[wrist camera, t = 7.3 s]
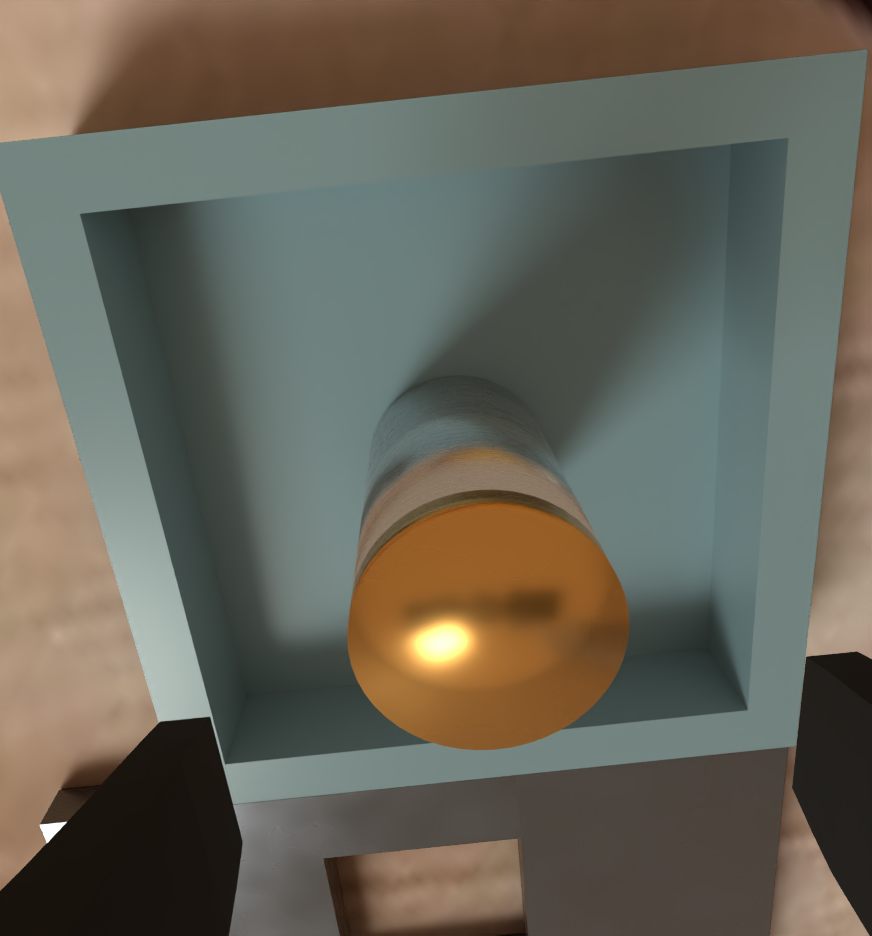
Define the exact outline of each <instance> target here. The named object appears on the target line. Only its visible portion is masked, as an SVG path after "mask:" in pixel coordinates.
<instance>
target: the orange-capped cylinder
mask: <svg viewBox="0 0 872 936" xmlns="http://www.w3.org/2000/svg"><path fill="white" fill-rule="evenodd" d="M628 635H629V611H628V606H627V601H626V596H625V594H624V591H623V588H622V586H621V583H620V581H619V579H618V577H617V575H616V573H615V571H614V569H613V567H612V565H611V563H610V562H609V560H608V558H607V556H606V554H605V552H604V550H603V548H602V546H601V544H600V542H599V540H598V539H597V537H596V535H595V533H594V531H593V529H592V527H591V525H590V523H589V521H588V519H587V518H586V516H585V514H584V512H583V510H582V508H581V506H580V504H579V502H578V500H577V498H576V496H575V495H574V493H573V491H572V489H571V487H570V485H569V483H568V481H567V479H566V477H565V475H564V474H563V472H562V470H561V468H560V466H559V464H558V462H557V460H556V458H555V456H554V454H553V452H552V451H551V449H550V447H549V445H548V443H547V441H546V439H545V437H544V435H543V433H542V431H541V430H540V428H539V426H538V424H537V422H536V420H535V418H534V417H533V415H532V413H531V412H530V410H529V409H528V408H527V406H526V405H525V404H524V403H523V402H522V401H521V400H520V399H519V398H518V397H517V396H516V395H514V394H513V393H512V392H510V391H509V390H508V389H506V388H504V387H502V386H500V385H499V384H497V383H494V382H491V381H489V380H486V379H482V378H478V377H473V376H464V375H462V376H446V377H439V378H436V379H432V380H428V381H426V382H424V383H421V384H419V385H417V386H415V387H413V388H411V389H410V390H408V391H406V392H405V393H404V394H403V395H401V396H400V397H399V398H397V399H396V400H395V401H394V402H393V403H392V404H391V405H390V407H389V408H388V409H387V410H386V412H385V413H384V414H383V416H382V418H381V419H380V421H379V423H378V425H377V427H376V429H375V432H374V434H373V438H372V442H371V446H370V454H369V462H368V470H367V478H366V485H365V493H364V501H363V509H362V517H361V525H360V533H359V541H358V549H357V557H356V565H355V573H354V581H353V589H352V597H351V605H350V613H349V621H348V631H347V641H348V652H349V657H350V662H351V666H352V668H353V671H354V674H355V676H356V679H357V681H358V683H359V685H360V686H361V688H362V690H363V692H364V693H365V695H366V696H367V697H368V699H369V700H370V701H371V703H372V704H373V705H374V706H375V707H376V708H377V709H378V710H379V711H380V712H381V713H382V714H383V715H384V716H385V717H386V718H387V719H389V720H390V721H391V722H393V723H394V724H395V725H397V726H398V727H400V728H402V729H403V730H405V731H407V732H408V733H410V734H412V735H414V736H417V737H419V738H421V739H424V740H426V741H429V742H432V743H435V744H439V745H442V746H447V747H452V748H458V749H467V750H496V749H504V748H511V747H516V746H520V745H524V744H528V743H531V742H534V741H537V740H539V739H542V738H545V737H547V736H549V735H551V734H553V733H555V732H558V731H560V730H561V729H563V728H565V727H566V726H568V725H569V724H571V723H573V722H574V721H576V720H577V719H578V718H579V717H581V716H582V715H583V714H584V713H586V712H587V711H588V710H589V709H590V708H591V707H592V706H593V705H594V704H595V703H596V702H597V701H598V700H599V699H600V698H601V697H602V695H603V694H604V693H605V691H606V690H607V689H608V688H609V686H610V685H611V683H612V681H613V680H614V678H615V676H616V675H617V673H618V670H619V668H620V666H621V663H622V661H623V659H624V655H625V651H626V647H627V644H628Z"/></svg>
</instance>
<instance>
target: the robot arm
mask: <svg viewBox="0 0 872 936" xmlns="http://www.w3.org/2000/svg"><path fill="white" fill-rule="evenodd" d="M792 788H793V791H794V793H795V795H796V797H797V799H798V802H799V804H800V806H801V808H802V811H803V813H804V815H805V817H806V819H807V822H808V824H809V826H810V828H811V831H812V833H813V835H814V837H815V839H816V841H817V843H818V845H819V847H820V849H821V851H822V854H823V856H824V858H825V860H826V862H827V864H828V866H829V868H830V870H831V872H832V874H833V876H834V877H835V879H836V881H837V882H838V884H839V886H840V887H841V889H842V891H843V892H844V894H845V896H846V897H847V899H848V901H849V902H850V904H851V906H852V907H853V909H854V911H855V912H856V914H857V915H858V917H859V919H860V920H861V922H862V924H863V925H864V927H865V929H866V930H867V932H868V934H869V935H870V936H872V659H870V658H868V657H866V656H864V655H863V654H861V653H859V652H849V653H839V654H829V655H819V656H809V657H806V664H805V673H804V682H803V692H802V701H801V710H800V720H799V729H798V739H797V748H796V757H795V767H794V776H793V785H792ZM242 846H243V840H242V837H241V833H240V829H239V825H238V821H237V817H236V814H235V810H234V806H233V802H232V798H231V794H230V791H229V787H228V783H227V779H226V775H225V771H224V768H223V764H222V760H221V756H220V752H219V748H218V745H217V741H216V737H215V733H214V729H213V725H212V722H211V718H210V717H201V718H191V719H181V720H171V721H161V722H159V723H158V724H157V726H156V727H155V728H154V729H153V730H152V731H151V732H150V733H149V734H148V735H147V736H146V737H145V738H144V739H143V740H142V741H141V742H140V743H139V744H138V745H137V747H136V748H135V749H134V750H133V751H132V752H131V753H130V754H129V755H128V756H127V757H126V759H125V760H124V761H123V762H122V763H121V764H120V765H119V766H118V767H117V768H116V769H115V771H114V772H113V773H112V774H111V775H110V776H109V777H108V778H107V779H106V780H105V781H104V783H103V784H102V785H101V786H100V787H99V788H98V789H97V790H96V791H95V792H94V793H93V795H92V796H91V797H90V798H89V799H88V800H87V801H86V802H85V803H84V804H83V805H82V806H81V808H80V809H79V810H78V811H77V812H76V813H75V814H74V815H73V816H72V817H71V818H70V819H69V820H68V821H67V822H66V823H65V825H64V826H63V827H62V828H61V829H60V830H59V831H58V832H57V833H56V834H55V835H54V836H53V837H52V838H51V839H50V840H49V842H48V843H47V844H46V845H45V846H44V847H43V848H42V849H41V850H40V851H39V852H38V853H37V854H36V855H35V856H34V857H33V858H32V860H31V861H30V862H29V863H28V864H27V865H26V866H25V867H24V868H23V869H22V870H21V871H20V872H19V873H18V874H17V875H16V876H15V877H14V878H13V879H12V880H11V881H10V882H9V883H8V884H7V885H6V886H5V887H4V888H3V889H2V890H1V891H0V936H229V932H230V926H231V920H232V914H233V908H234V902H235V895H236V889H237V882H238V875H239V868H240V860H241V853H242Z"/></svg>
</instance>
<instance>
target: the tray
mask: <svg viewBox="0 0 872 936" xmlns="http://www.w3.org/2000/svg"><path fill="white" fill-rule="evenodd" d="M867 56H868V49H867V50H857V51H848V52H839V53H830V54H820V55H811V56H802V57H792V58H783V59H774V60H764V61H755V62H746V63H737V64H727V65H718V66H709V67H699V68H690V69H681V70H672V71H662V72H653V73H644V74H634V75H625V76H616V77H607V78H597V79H588V80H579V81H569V82H560V83H551V84H542V85H532V86H523V87H514V88H504V89H495V90H486V91H477V92H467V93H458V94H449V95H439V96H430V97H421V98H412V99H402V100H393V101H384V102H374V103H365V104H356V105H346V106H337V107H328V108H319V109H309V110H300V111H291V112H281V113H272V114H263V115H254V116H244V117H235V118H226V119H216V120H207V121H198V122H189V123H179V124H170V125H161V126H151V127H142V128H133V129H124V130H114V131H105V132H96V133H86V134H77V135H68V136H59V137H49V138H40V139H31V140H21V141H12V142H3V143H0V192H1V195H2V199H3V202H4V205H5V209H6V212H7V216H8V219H9V222H10V226H11V229H12V232H13V236H14V239H15V242H16V246H17V249H18V252H19V256H20V259H21V262H22V266H23V269H24V272H25V276H26V279H27V283H28V286H29V289H30V293H31V296H32V299H33V303H34V306H35V309H36V313H37V316H38V319H39V323H40V326H41V329H42V333H43V336H44V339H45V343H46V346H47V350H48V353H49V356H50V360H51V363H52V366H53V370H54V373H55V376H56V380H57V383H58V386H59V390H60V393H61V396H62V400H63V403H64V407H65V410H66V413H67V417H68V420H69V423H70V427H71V430H72V433H73V437H74V440H75V443H76V447H77V450H78V453H79V457H80V460H81V463H82V467H83V470H84V474H85V477H86V480H87V484H88V487H89V490H90V494H91V497H92V500H93V504H94V507H95V510H96V514H97V517H98V520H99V524H100V527H101V530H102V534H103V537H104V541H105V544H106V547H107V551H108V554H109V557H110V561H111V564H112V567H113V571H114V574H115V577H116V581H117V584H118V587H119V591H120V594H121V597H122V601H123V604H124V608H125V611H126V614H127V618H128V621H129V624H130V628H131V631H132V634H133V638H134V641H135V644H136V648H137V651H138V654H139V658H140V661H141V665H142V668H143V671H144V675H145V678H146V681H147V685H148V688H149V691H150V695H151V698H152V701H153V705H154V708H155V711H156V715H157V718H158V721H159V722H161V721H171V720H181V719H191V718H201V717H210V718H211V722H212V725H213V729H214V733H215V737H216V741H217V745H218V748H219V752H220V756H221V760H222V764H223V768H224V771H225V775H226V779H227V783H228V787H229V791H230V794H231V798H232V802H233V804H241V803H251V802H260V801H270V800H280V799H289V798H299V797H309V796H318V795H328V794H338V793H347V792H357V791H367V790H376V789H386V788H396V787H406V786H415V785H425V784H435V783H444V782H454V781H464V780H473V779H483V778H493V777H502V776H512V775H522V774H531V773H541V772H551V771H561V770H570V769H580V768H590V767H599V766H609V765H619V764H628V763H638V762H648V761H657V760H667V759H677V758H686V757H696V756H706V755H715V754H725V753H735V752H745V751H754V750H764V749H774V748H783V747H793V746H796V743H797V733H798V723H799V714H800V704H801V694H802V684H803V675H804V665H805V655H806V646H807V636H808V626H809V617H810V607H811V597H812V588H813V578H814V568H815V559H816V549H817V539H818V530H819V520H820V510H821V501H822V491H823V481H824V472H825V462H826V452H827V443H828V433H829V423H830V414H831V404H832V394H833V385H834V375H835V365H836V356H837V346H838V336H839V327H840V317H841V307H842V298H843V288H844V278H845V269H846V259H847V249H848V240H849V230H850V220H851V211H852V201H853V191H854V182H855V172H856V162H857V153H858V143H859V133H860V124H861V114H862V104H863V94H864V85H865V75H866V65H867ZM462 375H464V376H473V377H478V378H482V379H486V380H489V381H491V382H494V383H497V384H499V385H500V386H502V387H504V388H506V389H508V390H509V391H510V392H512V393H513V394H514V395H516V396H517V397H518V398H519V399H520V400H521V401H522V402H523V403H524V404H525V405H526V406H527V408H528V409H529V410H530V412H531V413H532V415H533V417H534V418H535V420H536V422H537V424H538V426H539V428H540V430H541V431H542V433H543V435H544V437H545V439H546V441H547V443H548V445H549V447H550V449H551V451H552V452H553V454H554V456H555V458H556V460H557V462H558V464H559V466H560V468H561V470H562V472H563V474H564V475H565V477H566V479H567V481H568V483H569V485H570V487H571V489H572V491H573V493H574V495H575V496H576V498H577V500H578V502H579V504H580V506H581V508H582V510H583V512H584V514H585V516H586V518H587V519H588V521H589V523H590V525H591V527H592V529H593V531H594V533H595V535H596V537H597V539H598V540H599V542H600V544H601V546H602V548H603V550H604V552H605V554H606V556H607V558H608V560H609V562H610V563H611V565H612V567H613V569H614V571H615V573H616V575H617V577H618V579H619V581H620V583H621V586H622V588H623V591H624V594H625V596H626V601H627V606H628V611H629V635H628V644H627V647H626V651H625V655H624V659H623V661H622V663H621V666H620V668H619V670H618V673H617V675H616V676H615V678H614V680H613V681H612V683H611V685H610V686H609V688H608V689H607V690H606V691H605V693H604V694H603V695H602V697H601V698H600V699H599V700H598V701H597V702H596V703H595V704H594V705H593V706H592V707H591V708H590V709H589V710H588V711H587V712H586V713H584V714H583V715H582V716H581V717H579V718H578V719H577V720H576V721H574V722H573V723H571V724H569V725H568V726H566V727H565V728H563V729H561V730H560V731H558V732H555V733H553V734H551V735H549V736H547V737H545V738H542V739H539V740H537V741H534V742H531V743H528V744H524V745H520V746H516V747H511V748H504V749H496V750H467V749H458V748H452V747H447V746H442V745H439V744H435V743H432V742H429V741H426V740H424V739H421V738H419V737H417V736H414V735H412V734H410V733H408V732H407V731H405V730H403V729H402V728H400V727H398V726H397V725H395V724H394V723H393V722H391V721H390V720H389V719H387V718H386V717H385V716H384V715H383V714H382V713H381V712H380V711H379V710H378V709H377V708H376V707H375V706H374V705H373V704H372V703H371V701H370V700H369V699H368V697H367V696H366V695H365V693H364V692H363V690H362V688H361V686H360V685H359V683H358V681H357V679H356V676H355V674H354V671H353V668H352V666H351V662H350V657H349V652H348V641H347V631H348V621H349V613H350V605H351V597H352V589H353V581H354V573H355V565H356V557H357V549H358V541H359V533H360V525H361V517H362V509H363V501H364V493H365V485H366V478H367V470H368V462H369V454H370V446H371V442H372V438H373V434H374V432H375V429H376V427H377V425H378V423H379V421H380V419H381V418H382V416H383V414H384V413H385V412H386V410H387V409H388V408H389V407H390V405H391V404H392V403H393V402H394V401H395V400H396V399H397V398H399V397H400V396H401V395H403V394H404V393H405V392H406V391H408V390H410V389H411V388H413V387H415V386H417V385H419V384H421V383H424V382H426V381H428V380H432V379H436V378H439V377H446V376H462Z"/></svg>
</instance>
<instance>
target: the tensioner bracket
mask: <svg viewBox="0 0 872 936" xmlns="http://www.w3.org/2000/svg"><path fill="white" fill-rule="evenodd" d="M787 752H788V747H783V748H774V749H764V750H754V751H745V752H735V753H725V754H715V755H706V756H696V757H686V758H677V759H667V760H657V761H648V762H638V763H628V764H619V765H609V766H599V767H590V768H580V769H570V770H561V771H551V772H541V773H531V774H522V775H512V776H502V777H493V778H483V779H473V780H464V781H454V782H444V783H435V784H425V785H415V786H406V787H396V788H386V789H376V790H367V791H357V792H347V793H338V794H328V795H318V796H309V797H299V798H289V799H280V800H270V801H260V802H251V803H241V804H233V806H234V810H235V814H236V817H237V821H238V825H239V829H240V833H241V837H242V840H243V846H242V853H241V860H240V868H239V875H238V882H237V889H236V895H235V902H234V908H233V914H232V920H231V926H230V932H229V936H351V935H350V930H349V925H348V920H347V915H346V910H345V906H344V901H343V896H342V891H341V886H340V881H339V876H338V871H337V867H336V862H335V857H342V856H352V855H362V854H371V853H381V852H391V851H401V850H410V849H420V848H430V847H440V846H449V845H459V844H469V843H478V842H488V841H498V840H508V839H517V838H518V849H519V862H520V874H521V887H522V900H523V912H524V925H525V934H520V935H510V936H770V925H771V915H772V905H773V895H774V885H775V875H776V864H777V854H778V844H779V834H780V824H781V814H782V803H783V793H784V783H785V773H786V763H787ZM99 787H100V786H94V787H84V788H75V789H65V790H59V791H58V793H57V795H56V797H55V799H54V800H53V802H52V804H51V806H50V807H49V809H48V811H47V813H46V815H45V816H44V818H43V820H42V822H41V823H40V827H41V829H42V832H43V834H44V837H45V839H46V842H47V843H48V842H49V840H50V839H51V838H52V837H53V836H54V835H55V834H56V833H57V832H58V831H59V830H60V829H61V828H62V827H63V826H64V825H65V823H66V822H67V821H68V820H69V819H70V818H71V817H72V816H73V815H74V814H75V813H76V812H77V811H78V810H79V809H80V808H81V806H82V805H83V804H84V803H85V802H86V801H87V800H88V799H89V798H90V797H91V796H92V795H93V793H94V792H95V791H96V790H97V789H98V788H99Z"/></svg>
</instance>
